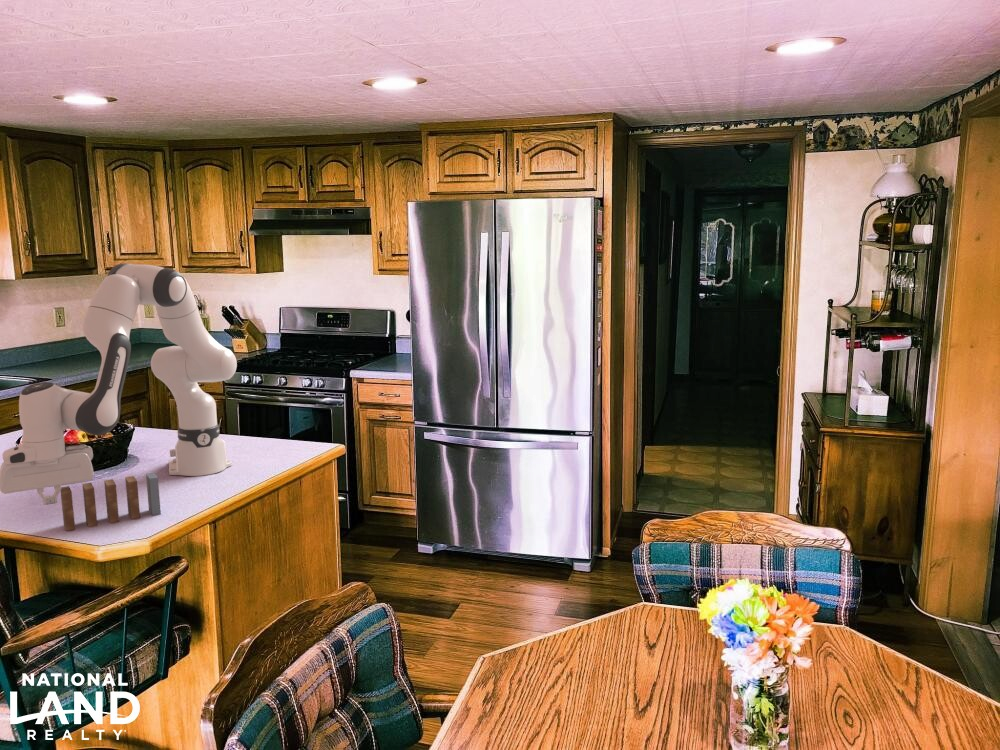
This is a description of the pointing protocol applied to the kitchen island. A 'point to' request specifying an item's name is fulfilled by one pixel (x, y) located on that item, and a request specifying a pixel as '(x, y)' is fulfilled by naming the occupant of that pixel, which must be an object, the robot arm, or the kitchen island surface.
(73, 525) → the domino
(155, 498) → the slate domino
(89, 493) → the domino
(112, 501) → the domino
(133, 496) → the domino
